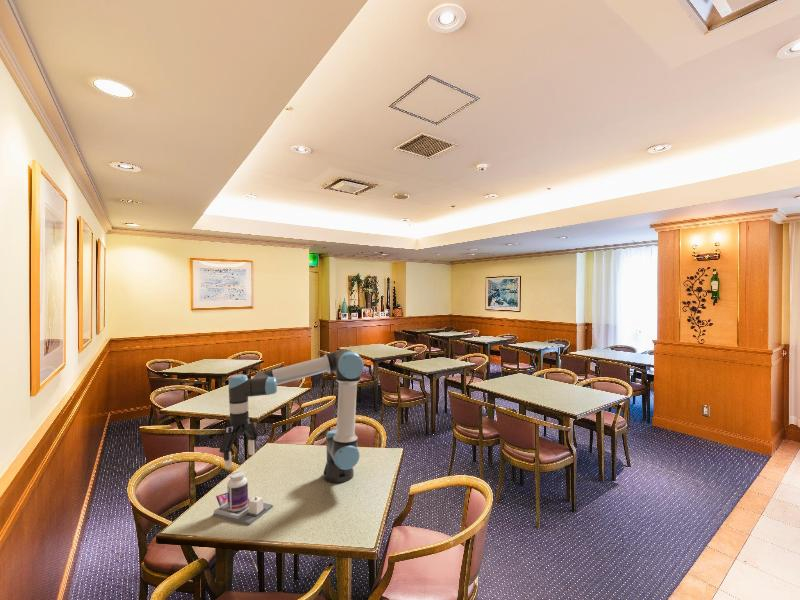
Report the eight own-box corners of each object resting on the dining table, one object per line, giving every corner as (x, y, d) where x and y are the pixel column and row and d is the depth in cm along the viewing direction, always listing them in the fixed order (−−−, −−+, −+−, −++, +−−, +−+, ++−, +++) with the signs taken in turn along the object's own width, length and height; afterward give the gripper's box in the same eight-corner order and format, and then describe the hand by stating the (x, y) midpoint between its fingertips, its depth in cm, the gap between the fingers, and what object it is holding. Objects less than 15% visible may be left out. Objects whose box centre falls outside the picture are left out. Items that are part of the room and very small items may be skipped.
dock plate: (272, 507, 167) (272, 490, 167) (249, 525, 154) (249, 507, 154) (238, 499, 173) (237, 483, 173) (213, 516, 160) (212, 499, 160)
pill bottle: (252, 504, 167) (251, 471, 167) (238, 514, 159) (238, 479, 159) (237, 501, 170) (236, 468, 170) (223, 511, 162) (222, 477, 162)
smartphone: (221, 510, 164) (215, 495, 177) (221, 511, 164) (215, 497, 177) (240, 504, 169) (233, 490, 181) (240, 506, 169) (233, 492, 181)
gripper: (252, 403, 178) (253, 448, 179) (208, 419, 155) (210, 472, 155) (265, 404, 176) (267, 450, 176) (223, 421, 152) (224, 474, 153)
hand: (240, 460), depth 166 cm, fingers open, 13 cm apart
